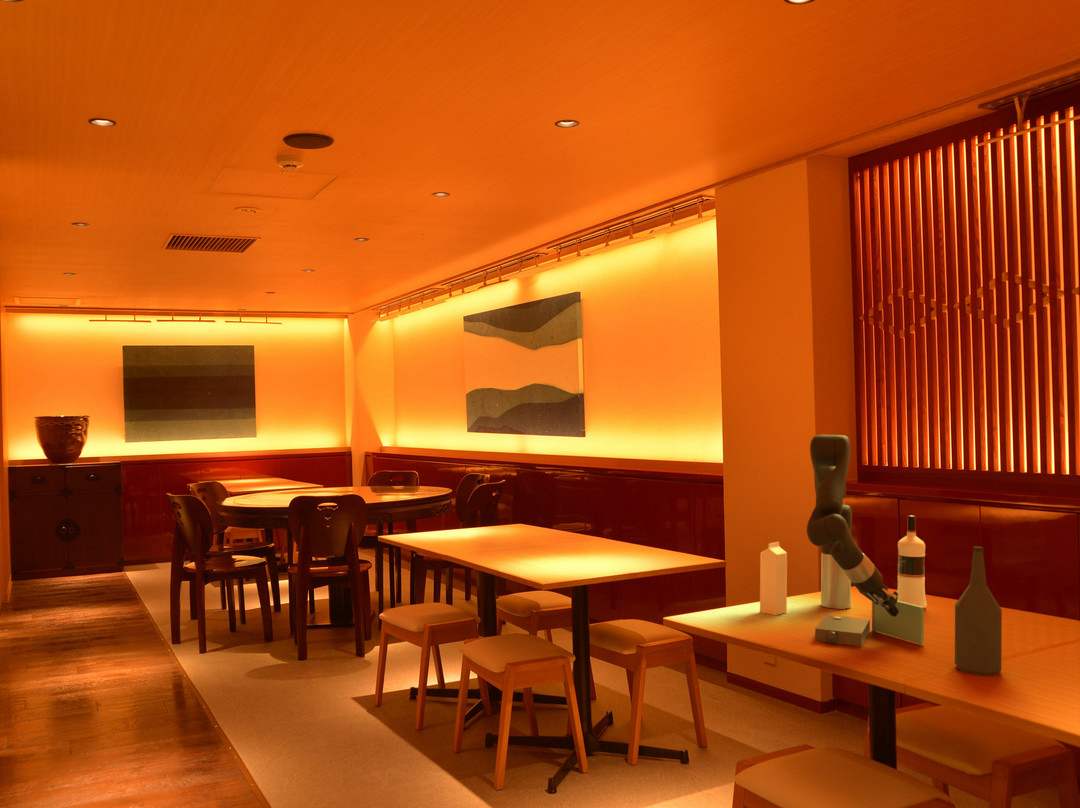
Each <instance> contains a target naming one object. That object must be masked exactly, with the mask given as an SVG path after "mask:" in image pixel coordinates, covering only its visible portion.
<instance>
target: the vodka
mask: <svg viewBox="0 0 1080 808" xmlns="http://www.w3.org/2000/svg"><path fill="white" fill-rule="evenodd" d="M906 518H907V519H906V520H907V521H906V522H907V526H906V527H907V528H906V529H907V530H906V535H905V536H904V537H902V538H901V539H899V540H898V542H897V558H898V559H897V591H896V592H897V593H898V599H897V601H901V602H905V603H909V604H913V605H917V606H921V607H926V608H927V604H928V602H927V599H926V589H925V585H926V584H925V582H926V578H925V556H926V543H925V542H924V540H922V539H921V538H919V537H918V536H917V523H916V522H917V520H916V519H917V517H916V516H915V515H907V517H906Z"/></svg>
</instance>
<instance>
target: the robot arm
mask: <svg viewBox="0 0 1080 808" xmlns="http://www.w3.org/2000/svg"><path fill="white" fill-rule="evenodd" d="M809 445H810V446H809V453H810V459H811V464H812V469H813V475H814V476H813V477H814V479H813V481H814V491H815V505H814V506H815V507H814V508H813V510H812V512H811V514H810V516H809V518H808V519H809V520H808V521H807V526H806V535H807V538H808V540H809V542H810V543H811V544H813V545H814V546H817V547H820V548H821V552H820V553H821V554H820V556H821V560H820V561H821V564H820V566H821V570H820V571H821V575H820V577H821V578H820V579H821V580H820V583H821V584H820V586H821V587H820V606H822V607H823V608H828V609H838V610H844V609H845V610H846V608H847V609H850V608H851V606H852V605H851V604H852V602H851V601H852V599H851V598H852V588H851V587H852V585H853V586H854V587H855V588H856V589H857V591H858V592H859V594H861V595H862V596H864V597H865V598H867V599H868V600H869V601H871V603H872V602H874V603H875V604H877V605H878V604H879V605H880V606H881V607H884V608H885V609H886V611H887V612H888V613H889V614H890V615H891V616H894V617H896V615H897V614H898V613H899V610H898V609H897V608H896V606H895V604H896V602H897V599H898V593H897V591H893V592H892V591H890V590H889V589H888V586H886V585H885V584H884V583H883V574H882V573H881V572H880V571H879V570H878V568H877V567H876V566H875V564H874V563H873V562H872V561H871V559H870V558H869V557H868V556H867V555H866V554H865V553H864V552H863V551H862V549H860V548H859V546H858V545H857V543H856V542H855V540H854V537H853V536H852V529H853V528H852V524H853V510H852V508H851V506H850V505H848V504H844V503H843V502H844V498H845V496H846V494H847V483H846V482H847V480H846V479H847V476H848V470H849V466H850V462H851V461H850V460H851V443H850V439H849V437H848V436H847V435H843V434H817V435H815V436H813V437H812V438H811V441H810V444H809Z"/></svg>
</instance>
